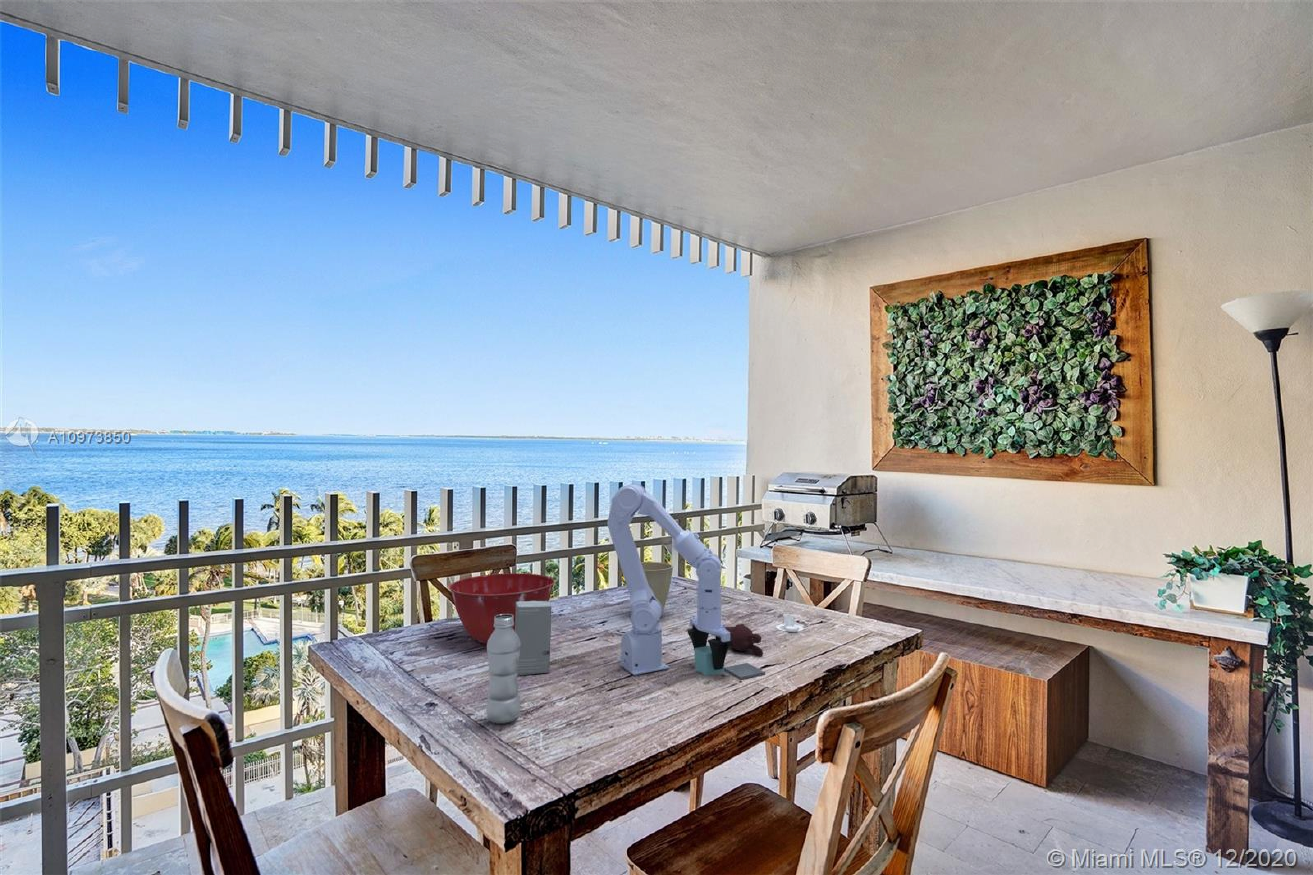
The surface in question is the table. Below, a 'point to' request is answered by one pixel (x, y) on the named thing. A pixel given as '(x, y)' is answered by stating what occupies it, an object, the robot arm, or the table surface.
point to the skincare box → (533, 636)
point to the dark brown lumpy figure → (744, 639)
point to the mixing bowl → (495, 599)
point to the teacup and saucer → (789, 624)
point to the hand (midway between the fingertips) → (709, 664)
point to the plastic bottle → (503, 671)
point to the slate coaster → (744, 671)
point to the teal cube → (705, 661)
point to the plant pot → (658, 579)
